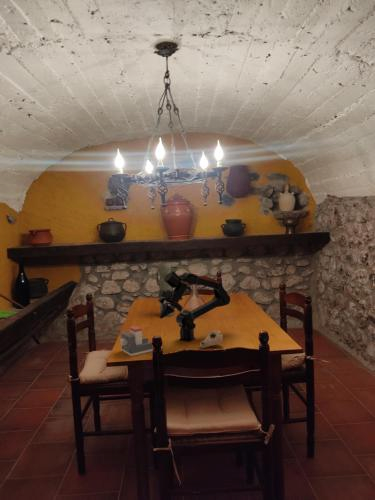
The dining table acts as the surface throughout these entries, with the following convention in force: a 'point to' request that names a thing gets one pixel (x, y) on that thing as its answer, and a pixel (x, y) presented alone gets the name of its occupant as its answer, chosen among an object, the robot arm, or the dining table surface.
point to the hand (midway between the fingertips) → (160, 318)
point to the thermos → (164, 270)
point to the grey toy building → (131, 344)
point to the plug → (135, 332)
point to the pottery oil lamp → (212, 339)
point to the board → (137, 352)
